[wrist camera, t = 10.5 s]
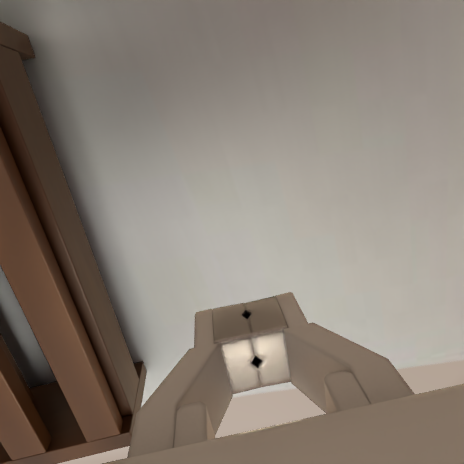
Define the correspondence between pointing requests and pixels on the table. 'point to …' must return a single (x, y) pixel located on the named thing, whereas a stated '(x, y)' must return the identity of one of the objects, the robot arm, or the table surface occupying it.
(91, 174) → the table surface
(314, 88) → the table surface
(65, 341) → the shoe rack
